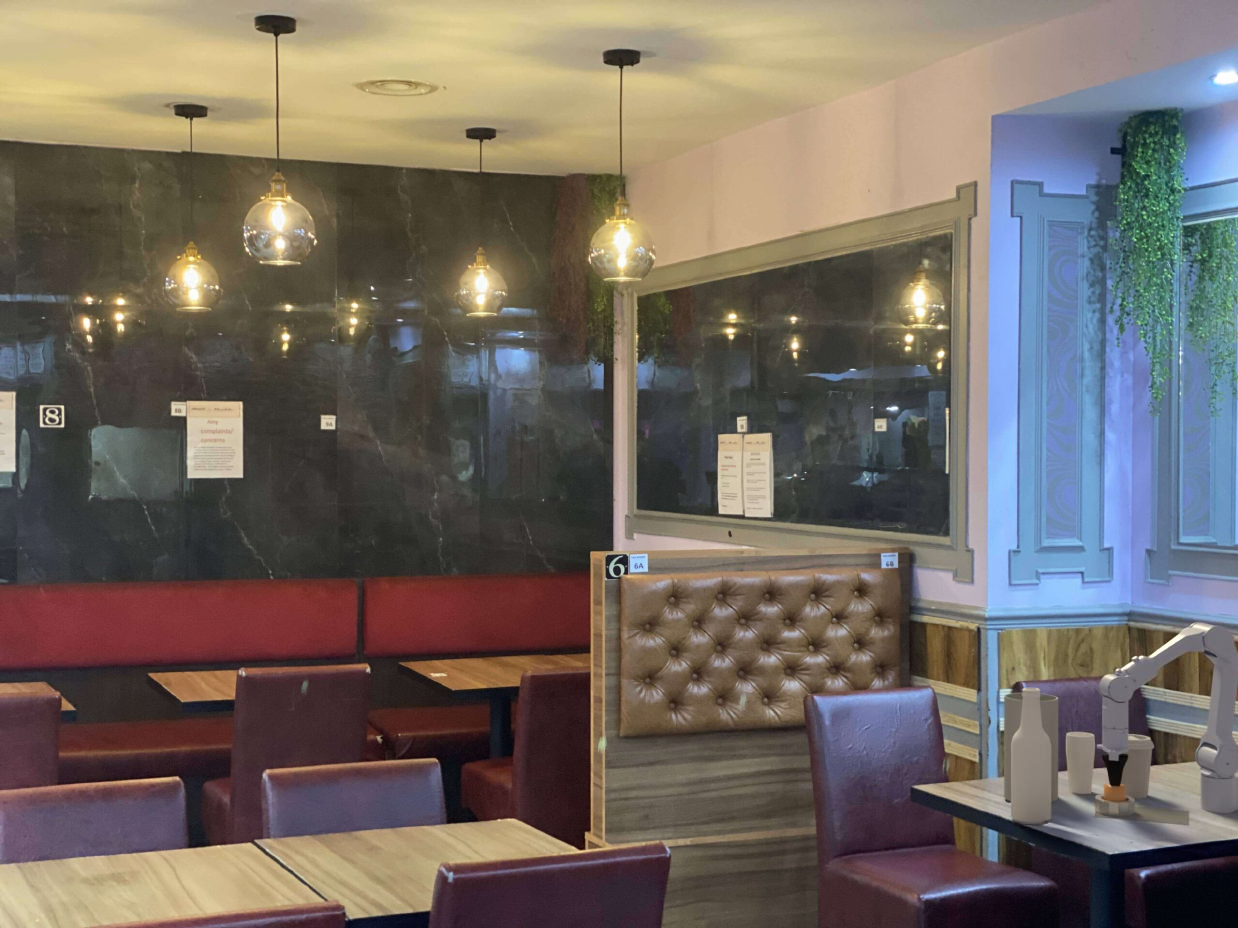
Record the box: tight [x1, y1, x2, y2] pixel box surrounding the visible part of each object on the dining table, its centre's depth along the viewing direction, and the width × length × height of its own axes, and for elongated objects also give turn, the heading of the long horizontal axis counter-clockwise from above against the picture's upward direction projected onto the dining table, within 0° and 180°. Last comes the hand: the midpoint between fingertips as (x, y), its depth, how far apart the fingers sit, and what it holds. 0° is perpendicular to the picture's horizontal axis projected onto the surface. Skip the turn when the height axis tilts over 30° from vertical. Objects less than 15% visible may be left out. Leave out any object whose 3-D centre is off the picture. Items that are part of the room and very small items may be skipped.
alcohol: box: [1010, 687, 1052, 826], centre depth 327 cm, size 9×9×30 cm
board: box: [1093, 805, 1190, 826], centre depth 329 cm, size 20×14×1 cm
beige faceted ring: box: [1094, 793, 1136, 816], centre depth 331 cm, size 9×9×3 cm
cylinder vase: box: [1003, 692, 1059, 803], centre depth 346 cm, size 12×12×25 cm
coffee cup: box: [1121, 733, 1155, 799], centre depth 348 cm, size 10×10×15 cm
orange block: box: [1103, 782, 1126, 802], centre depth 331 cm, size 5×5×6 cm
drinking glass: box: [1065, 731, 1096, 795], centre depth 351 cm, size 7×7×15 cm
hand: (1115, 785), depth 331 cm, fingers closed, pressing on orange block
